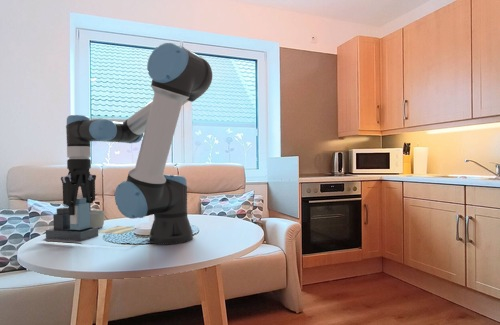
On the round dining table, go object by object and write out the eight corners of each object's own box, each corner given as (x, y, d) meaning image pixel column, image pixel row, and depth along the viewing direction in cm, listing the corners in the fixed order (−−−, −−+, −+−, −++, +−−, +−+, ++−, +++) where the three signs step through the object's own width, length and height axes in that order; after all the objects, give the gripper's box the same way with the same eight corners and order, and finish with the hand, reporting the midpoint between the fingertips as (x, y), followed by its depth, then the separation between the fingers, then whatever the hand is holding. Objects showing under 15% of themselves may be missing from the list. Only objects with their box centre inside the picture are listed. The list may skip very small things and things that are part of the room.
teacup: (87, 227, 135) (87, 209, 135) (110, 227, 134) (110, 209, 134) (64, 235, 121) (63, 214, 121) (89, 235, 120) (89, 215, 120)
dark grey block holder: (98, 238, 115) (97, 207, 115) (80, 243, 107) (79, 210, 107) (65, 235, 120) (64, 206, 120) (45, 241, 112) (45, 209, 112)
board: (141, 229, 128) (141, 227, 128) (121, 236, 117) (121, 234, 117) (117, 228, 132) (117, 225, 132) (95, 235, 120) (95, 232, 120)
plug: (90, 227, 114) (89, 197, 114) (79, 230, 110) (79, 199, 110) (80, 226, 115) (79, 197, 115) (70, 229, 111) (69, 198, 111)
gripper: (90, 158, 122) (91, 217, 122) (48, 158, 105) (50, 227, 105) (105, 158, 120) (106, 218, 120) (66, 158, 103) (67, 228, 103)
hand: (80, 222), depth 113 cm, fingers closed on plug, 4 cm apart
